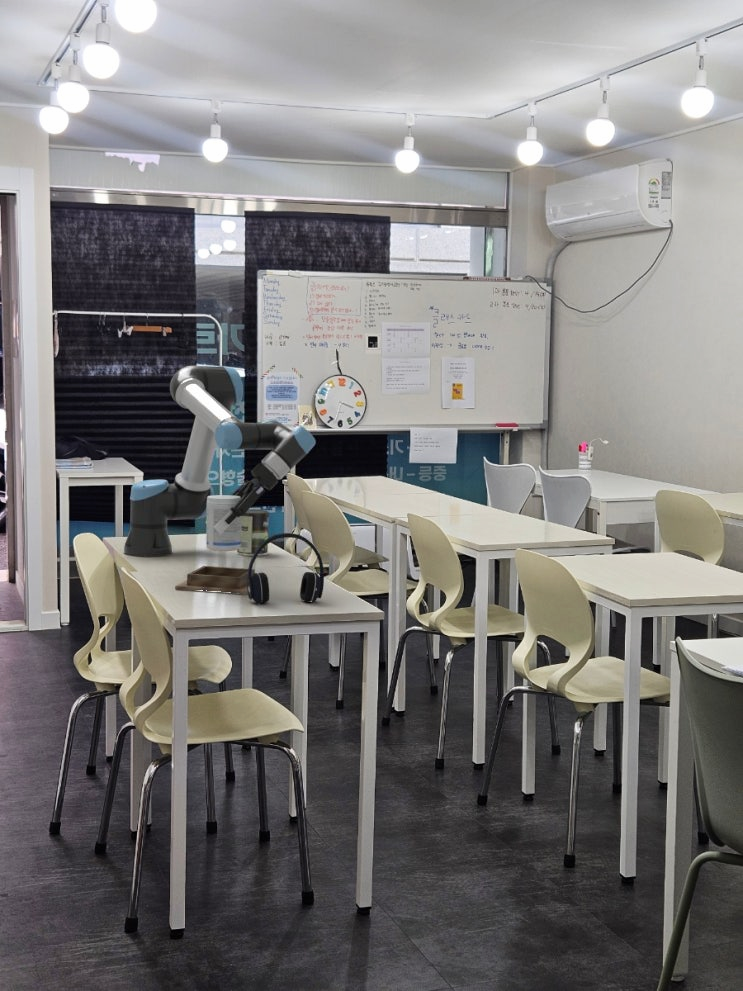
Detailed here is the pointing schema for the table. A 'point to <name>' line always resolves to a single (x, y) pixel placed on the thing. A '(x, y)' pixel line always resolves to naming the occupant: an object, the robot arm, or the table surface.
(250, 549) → the coffee can
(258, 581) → the headphones
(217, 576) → the tray
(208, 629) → the table surface
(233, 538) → the supplement tub
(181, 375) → the robot arm
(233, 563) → the table surface
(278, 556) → the table surface
